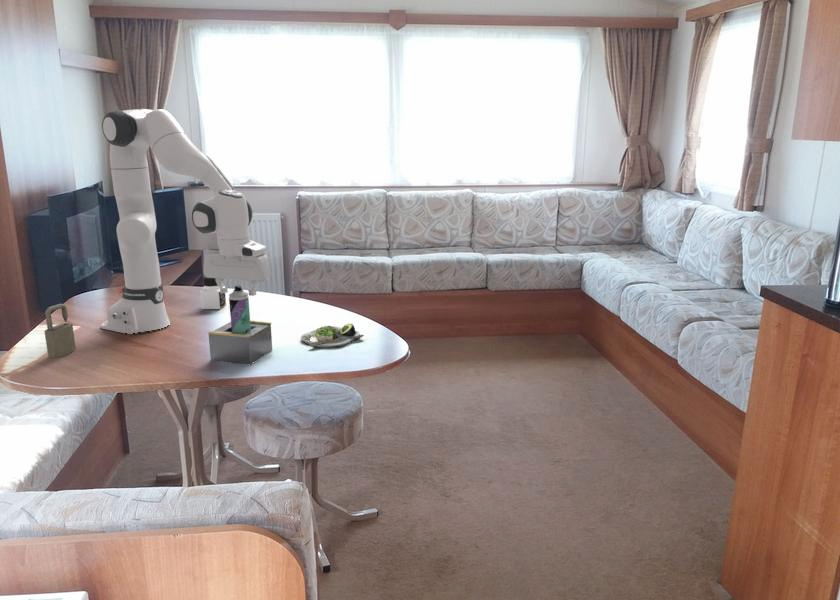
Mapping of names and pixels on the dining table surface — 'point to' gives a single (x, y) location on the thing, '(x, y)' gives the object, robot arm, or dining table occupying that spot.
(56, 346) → the padlock
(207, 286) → the medicine bottle
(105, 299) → the dining table surface
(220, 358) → the socket block
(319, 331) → the salad plate
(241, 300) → the spray can
